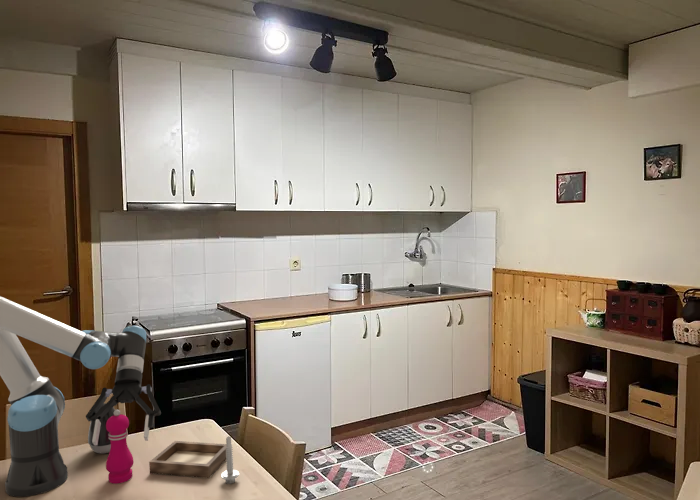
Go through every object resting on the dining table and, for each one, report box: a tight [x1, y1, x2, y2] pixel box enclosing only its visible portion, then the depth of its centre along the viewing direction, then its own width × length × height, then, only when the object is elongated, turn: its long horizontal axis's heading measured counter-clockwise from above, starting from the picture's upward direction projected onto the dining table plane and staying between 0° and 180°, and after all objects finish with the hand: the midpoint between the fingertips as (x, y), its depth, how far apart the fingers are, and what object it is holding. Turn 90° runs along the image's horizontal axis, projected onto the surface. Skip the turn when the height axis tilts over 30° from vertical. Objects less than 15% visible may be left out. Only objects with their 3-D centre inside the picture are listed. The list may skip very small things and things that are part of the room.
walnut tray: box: [148, 440, 227, 479], centre depth 160 cm, size 18×14×4 cm
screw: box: [220, 436, 240, 485], centre depth 148 cm, size 13×5×5 cm
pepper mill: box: [105, 409, 134, 485], centre depth 151 cm, size 7×7×20 cm
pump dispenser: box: [87, 402, 116, 455], centre depth 170 cm, size 10×10×15 cm
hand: (120, 441), depth 151 cm, fingers open, 13 cm apart
